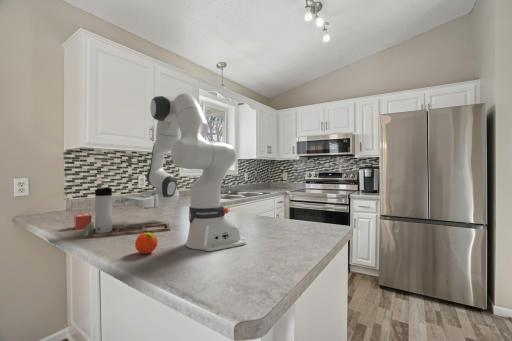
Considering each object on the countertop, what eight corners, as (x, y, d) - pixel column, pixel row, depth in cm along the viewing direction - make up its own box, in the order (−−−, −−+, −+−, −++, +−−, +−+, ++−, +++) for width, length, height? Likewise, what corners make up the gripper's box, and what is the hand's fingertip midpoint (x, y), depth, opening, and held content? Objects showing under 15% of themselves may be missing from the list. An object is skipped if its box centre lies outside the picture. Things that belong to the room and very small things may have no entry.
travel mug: (99, 236, 103) (99, 188, 103) (92, 233, 107) (92, 187, 107) (115, 233, 108) (114, 187, 108) (108, 230, 112) (108, 186, 112)
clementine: (164, 252, 84) (164, 231, 84) (145, 258, 78) (145, 236, 78) (149, 248, 88) (149, 228, 88) (130, 254, 82) (130, 232, 82)
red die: (89, 225, 122) (89, 213, 122) (91, 227, 118) (91, 214, 118) (74, 227, 118) (74, 214, 118) (76, 229, 114) (75, 216, 114)
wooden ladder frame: (168, 225, 124) (168, 217, 124) (170, 230, 113) (170, 221, 113) (90, 231, 111) (90, 222, 111) (83, 238, 100) (83, 228, 100)
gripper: (137, 192, 130) (109, 194, 119) (159, 194, 118) (130, 197, 107) (137, 204, 130) (109, 207, 119) (159, 208, 118) (130, 212, 107)
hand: (119, 202), depth 113 cm, fingers open, 8 cm apart
